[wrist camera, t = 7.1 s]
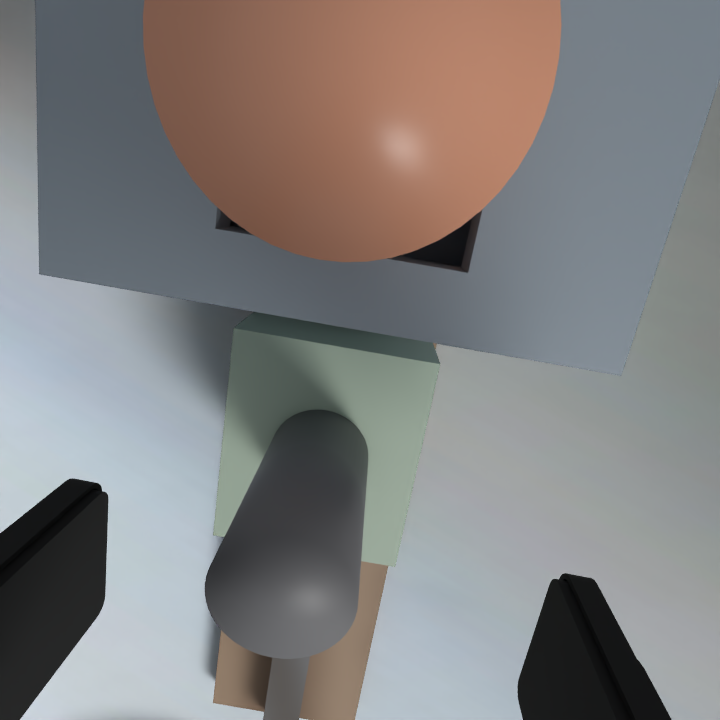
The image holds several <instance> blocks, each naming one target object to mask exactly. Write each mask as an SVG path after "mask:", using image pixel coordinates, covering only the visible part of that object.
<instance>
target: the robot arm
mask: <svg viewBox="0 0 720 720" xmlns="http://www.w3.org/2000/svg"><path fill="white" fill-rule="evenodd" d="M107 523H108V495H107V493H106V492H102V488H101V486H100V484H98V483H94V482H89V481H83V480H78V479H69V480H67V481H65V482H64V483H63V484H62V485H60V486H59V487H58V488H57V489H55V490H54V491H53V492H52V493H50V494H49V495H48V496H47V497H45V498H44V499H43V500H42V501H40V502H39V503H38V504H37V505H35V506H34V507H33V508H32V509H30V510H29V511H28V512H27V513H25V514H24V515H23V516H22V517H20V518H19V519H18V520H17V521H15V522H14V523H13V524H12V525H10V526H9V527H8V528H6V529H5V530H4V531H3V532H1V533H0V720H20V719H21V717H22V716H23V715H24V713H25V712H26V711H27V709H28V708H29V707H30V705H31V704H32V703H33V701H34V700H35V699H36V697H37V696H38V695H39V693H40V692H41V691H42V689H43V688H44V687H45V685H46V684H47V683H48V681H49V680H50V679H51V677H52V676H53V675H54V673H55V672H56V671H57V669H58V668H59V667H60V666H61V664H62V663H63V662H64V660H65V659H66V658H67V656H68V655H69V654H70V652H71V651H72V650H73V648H74V647H75V646H76V644H77V643H78V642H79V640H80V639H81V638H82V636H83V635H84V634H85V632H86V631H87V630H88V628H89V627H90V626H91V624H92V623H93V622H94V620H95V619H96V618H97V616H98V615H99V613H100V611H101V609H102V607H103V604H104V600H105V584H106V553H107ZM518 700H519V705H520V709H521V713H522V717H523V720H671V718H670V716H669V714H668V712H667V710H666V708H665V707H664V705H663V703H662V701H661V699H660V697H659V695H658V693H657V692H656V690H655V688H654V686H653V684H652V682H651V680H650V678H649V677H648V675H647V673H646V671H645V669H644V668H643V666H642V665H641V663H640V662H639V661H638V660H637V659H636V657H635V655H634V653H633V651H632V649H631V647H630V645H629V643H628V642H627V640H626V638H625V636H624V634H623V632H622V630H621V628H620V626H619V625H618V623H617V621H616V619H615V617H614V615H613V613H612V611H611V609H610V608H609V606H608V604H607V602H606V600H605V598H604V596H603V594H602V592H601V590H600V589H599V587H598V585H597V583H596V582H595V580H593V579H592V578H587V577H582V576H577V575H571V574H566V573H565V574H562V575H561V577H560V579H559V580H558V579H553V580H552V581H551V583H550V585H549V588H548V591H547V594H546V597H545V600H544V603H543V607H542V610H541V613H540V616H539V619H538V622H537V625H536V628H535V631H534V634H533V637H532V640H531V643H530V646H529V649H528V653H527V656H526V659H525V662H524V665H523V668H522V671H521V674H520V677H519V681H518Z"/></svg>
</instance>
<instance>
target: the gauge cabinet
mask: <svg viewBox="0 0 720 720" xmlns="http://www.w3.org/2000/svg"><path fill="white" fill-rule="evenodd" d="M560 4H561V39H560V54H559V61H558V66H557V72H556V77H555V82H554V87H553V91H552V94H551V97H550V100H549V104H548V107H547V110H546V113H545V116H544V119H543V121H542V123H541V125H540V128H539V130H538V132H537V134H536V137H535V139H534V141H533V143H532V145H531V147H530V148H529V150H528V152H527V154H526V155H525V157H524V159H523V160H522V162H521V164H520V165H519V167H518V169H517V170H516V171H515V173H514V174H513V175H512V177H511V178H510V179H509V180H508V182H507V183H506V184H505V186H504V187H503V188H502V190H501V191H500V192H499V193H498V194H497V195H496V196H495V197H494V198H493V199H492V200H491V201H490V202H489V203H488V204H487V205H486V206H485V207H484V208H483V209H482V210H481V211H480V212H479V213H477V214H476V215H475V216H474V217H472V218H471V219H470V220H469V221H467V222H466V223H465V224H464V225H462V226H461V227H460V228H458V229H456V230H455V231H453V232H451V233H450V234H448V235H447V236H445V237H443V238H442V239H440V240H438V241H436V242H434V243H431V244H429V245H427V246H425V247H423V248H420V249H418V250H416V251H413V252H409V253H406V254H403V255H399V256H396V257H393V258H387V259H381V260H374V261H368V262H336V261H327V260H318V259H314V258H310V257H306V256H302V255H298V254H294V253H291V252H289V251H286V250H284V249H281V248H278V247H276V246H273V245H271V244H269V243H267V242H266V241H264V240H262V239H260V238H258V237H256V236H254V235H253V234H251V233H249V232H248V231H246V230H245V229H244V228H242V227H241V226H239V225H238V224H237V223H235V222H234V221H232V220H231V219H230V218H228V217H227V216H226V215H225V214H224V213H223V212H222V211H221V210H220V209H219V208H218V207H217V206H216V205H214V204H213V203H212V202H211V201H210V200H209V199H208V197H207V196H206V195H205V194H204V193H203V192H202V190H201V189H200V188H199V187H198V186H197V185H196V183H195V182H194V181H193V180H192V178H191V177H190V175H189V174H188V172H187V171H186V169H185V168H184V166H183V165H182V163H181V162H180V160H179V159H178V157H177V155H176V153H175V151H174V149H173V147H172V145H171V143H170V141H169V140H168V138H167V136H166V134H165V132H164V129H163V126H162V124H161V121H160V118H159V115H158V113H157V110H156V107H155V105H154V101H153V97H152V93H151V89H150V85H149V80H148V76H147V69H146V62H145V54H144V46H143V9H144V0H35V12H36V83H37V154H38V225H39V274H41V275H47V276H52V277H58V278H64V279H69V280H75V281H81V282H87V283H92V284H98V285H104V286H110V287H115V288H121V289H127V290H132V291H138V292H144V293H150V294H155V295H161V296H167V297H173V298H178V299H184V300H190V301H195V302H201V303H207V304H213V305H218V306H224V307H230V308H236V309H241V310H247V311H253V312H258V313H264V314H270V315H276V316H281V317H287V318H293V319H299V320H304V321H310V322H316V323H321V324H327V325H333V326H339V327H344V328H350V329H356V330H362V331H367V332H373V333H379V334H384V335H390V336H396V337H402V338H407V339H413V340H419V341H425V342H430V343H436V344H442V345H447V346H453V347H459V348H465V349H470V350H476V351H482V352H488V353H493V354H499V355H505V356H510V357H516V358H522V359H528V360H533V361H539V362H545V363H551V364H556V365H562V366H568V367H574V368H579V369H585V370H591V371H596V372H602V373H608V374H614V375H619V376H621V375H622V372H623V369H624V366H625V363H626V360H627V357H628V354H629V351H630V348H631V345H632V342H633V339H634V336H635V333H636V330H637V327H638V324H639V321H640V318H641V315H642V312H643V309H644V306H645V303H646V300H647V297H648V294H649V291H650V288H651V285H652V281H653V278H654V275H655V272H656V269H657V266H658V263H659V260H660V257H661V254H662V251H663V248H664V245H665V242H666V239H667V236H668V233H669V230H670V227H671V224H672V221H673V218H674V215H675V212H676V209H677V206H678V203H679V200H680V197H681V194H682V191H683V188H684V185H685V182H686V179H687V176H688V173H689V170H690V167H691V164H692V161H693V158H694V155H695V152H696V149H697V146H698V143H699V140H700V137H701V134H702V131H703V128H704V125H705V122H706V119H707V116H708V113H709V110H710V107H711V104H712V101H713V98H714V95H715V92H716V89H717V86H718V83H719V80H720V0H560Z"/></svg>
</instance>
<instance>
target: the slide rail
mask: <svg viewBox="0 0 720 720" xmlns="http://www.w3.org/2000/svg"><path fill="white" fill-rule="evenodd" d="M433 345H434V348H435V349H436V343H433ZM387 569H388V566H387V565H381V564H375V563H369V562H364V561H361V570H360V585H359V599H358V608H357V613H356V617H355V620H354V622H353V624H352V626H351V628H350V629H349V631H348V632H347V633H346V635H345V636H344V637H343V638H342V639H341V640H340V641H339V642H337V643H336V644H335V645H333V646H332V647H330V648H329V649H327V650H325V651H323V652H321V653H318V654H315V655H312V656H309V657H304V658H296V659H280V658H272V657H267V656H263V655H260V654H257V653H254V652H252V651H250V650H247V649H245V648H243V647H242V646H240V645H238V644H237V643H235V642H234V641H233V640H231V639H230V638H229V637H228V636H227V635H226V634H225V633H224V632H223V631H222V630H221V635H220V644H219V654H218V663H217V672H216V681H215V690H214V699H213V703H217V704H223V705H228V706H234V707H240V708H246V709H251V710H257V711H263V712H264V717H263V720H299V718H303V719H309V720H355V716H356V711H357V707H358V702H359V698H360V693H361V688H362V684H363V679H364V675H365V670H366V665H367V661H368V656H369V652H370V647H371V642H372V638H373V633H374V629H375V624H376V620H377V615H378V610H379V606H380V601H381V597H382V592H383V587H384V583H385V578H386V574H387Z"/></svg>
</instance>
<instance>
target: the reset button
mask: <svg viewBox="0 0 720 720" xmlns="http://www.w3.org/2000/svg"><path fill="white" fill-rule="evenodd" d="M560 39H561V4H560V0H144V9H143V46H144V54H145V62H146V69H147V76H148V80H149V85H150V89H151V93H152V97H153V101H154V105H155V107H156V110H157V113H158V115H159V118H160V121H161V124H162V126H163V129H164V132H165V134H166V136H167V138H168V140H169V141H170V143H171V145H172V147H173V149H174V151H175V153H176V155H177V157H178V159H179V160H180V162H181V163H182V165H183V166H184V168H185V169H186V171H187V172H188V174H189V175H190V177H191V178H192V180H193V181H194V182H195V183H196V185H197V186H198V187H199V188H200V189H201V190H202V192H203V193H204V194H205V195H206V196H207V197H208V199H209V200H210V201H211V202H212V203H213V204H214V205H216V206H217V207H218V208H219V209H220V210H221V211H222V212H223V213H224V214H225V215H226V216H227V217H228V218H230V219H231V220H232V221H234V222H235V223H237V224H238V225H239V226H241V227H242V228H244V229H245V230H246V231H248V232H249V233H251V234H253V235H254V236H256V237H258V238H260V239H262V240H264V241H266V242H267V243H269V244H271V245H273V246H276V247H278V248H281V249H284V250H286V251H289V252H291V253H294V254H298V255H302V256H306V257H310V258H314V259H318V260H327V261H336V262H368V261H374V260H381V259H387V258H393V257H396V256H399V255H403V254H406V253H409V252H413V251H416V250H418V249H420V248H423V247H425V246H427V245H429V244H431V243H434V242H436V241H438V240H440V239H442V238H443V237H445V236H447V235H448V234H450V233H451V232H453V231H455V230H456V229H458V228H460V227H461V226H462V225H464V224H465V223H466V222H467V221H469V220H470V219H471V218H472V217H474V216H475V215H476V214H477V213H479V212H480V211H481V210H482V209H483V208H484V207H485V206H486V205H487V204H488V203H489V202H490V201H491V200H492V199H493V198H494V197H495V196H496V195H497V194H498V193H499V192H500V191H501V190H502V188H503V187H504V186H505V184H506V183H507V182H508V180H509V179H510V178H511V177H512V175H513V174H514V173H515V171H516V170H517V169H518V167H519V165H520V164H521V162H522V160H523V159H524V157H525V155H526V154H527V152H528V150H529V148H530V147H531V145H532V143H533V141H534V139H535V137H536V134H537V132H538V130H539V128H540V125H541V123H542V121H543V119H544V116H545V113H546V110H547V107H548V104H549V100H550V97H551V94H552V91H553V87H554V82H555V77H556V72H557V66H558V61H559V54H560Z"/></svg>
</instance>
